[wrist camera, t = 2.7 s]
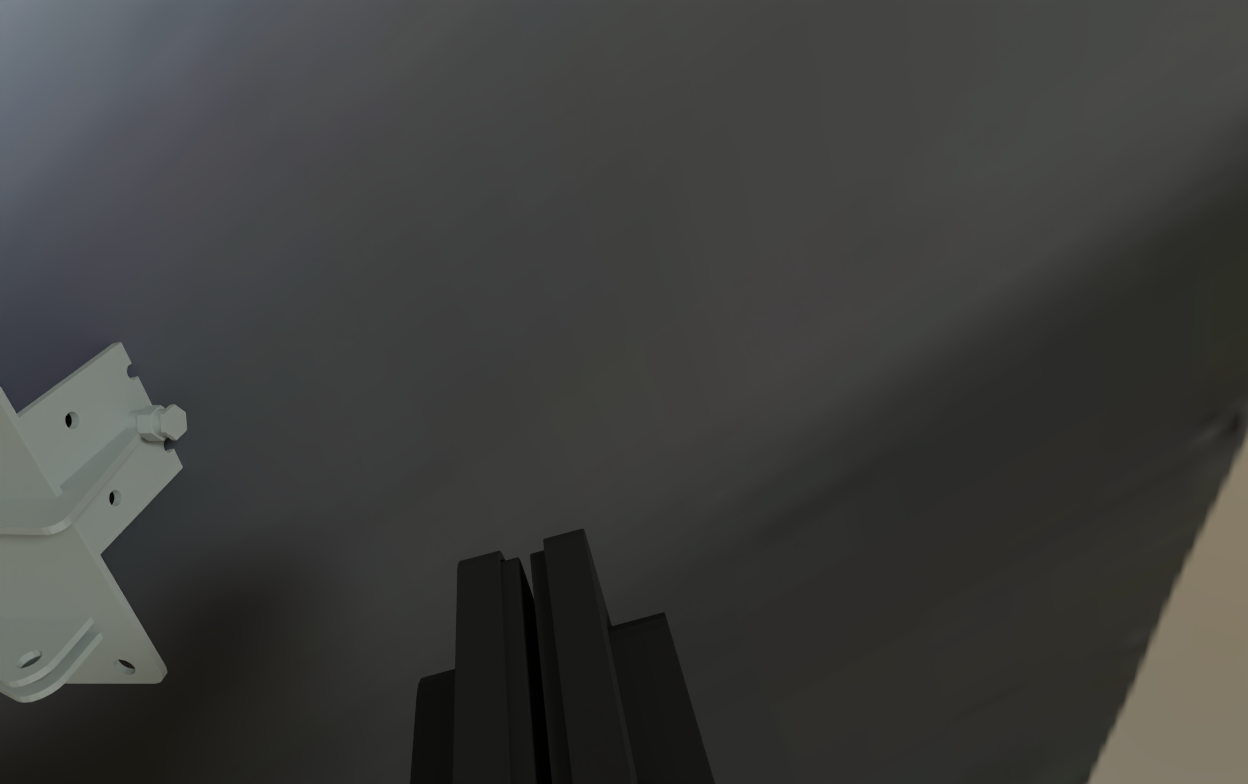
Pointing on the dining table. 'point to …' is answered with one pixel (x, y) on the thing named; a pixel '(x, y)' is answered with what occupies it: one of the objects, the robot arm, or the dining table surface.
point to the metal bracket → (77, 527)
